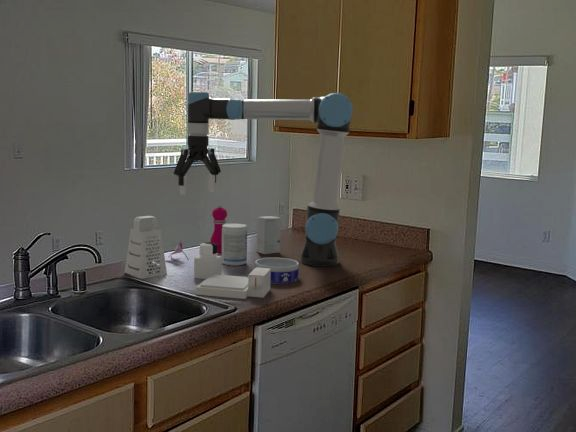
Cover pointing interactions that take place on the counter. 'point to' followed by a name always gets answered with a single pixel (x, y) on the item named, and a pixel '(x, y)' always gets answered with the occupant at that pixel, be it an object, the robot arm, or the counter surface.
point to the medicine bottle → (207, 261)
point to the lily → (178, 249)
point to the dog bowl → (280, 269)
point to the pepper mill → (218, 226)
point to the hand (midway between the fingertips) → (197, 193)
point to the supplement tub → (234, 244)
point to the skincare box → (268, 234)
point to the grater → (145, 250)
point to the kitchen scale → (237, 285)
